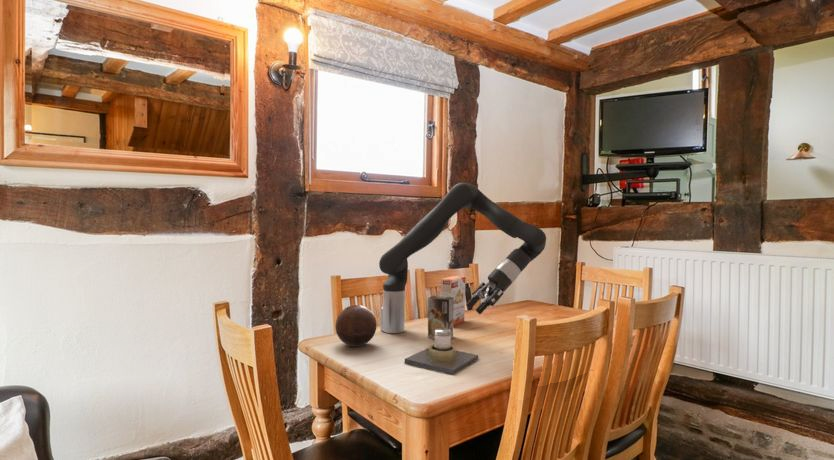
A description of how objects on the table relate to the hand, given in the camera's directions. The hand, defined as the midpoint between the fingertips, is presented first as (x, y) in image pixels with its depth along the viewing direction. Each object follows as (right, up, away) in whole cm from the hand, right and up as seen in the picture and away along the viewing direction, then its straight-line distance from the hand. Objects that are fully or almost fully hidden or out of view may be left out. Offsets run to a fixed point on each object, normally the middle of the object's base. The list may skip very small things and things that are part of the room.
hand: (472, 309), depth 150 cm
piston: (-10, -15, -2) cm, 19 cm away
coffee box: (-9, -16, +27) cm, 33 cm away
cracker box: (-3, -15, +50) cm, 53 cm away
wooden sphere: (-41, -16, +14) cm, 47 cm away
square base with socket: (-10, -17, -2) cm, 20 cm away
